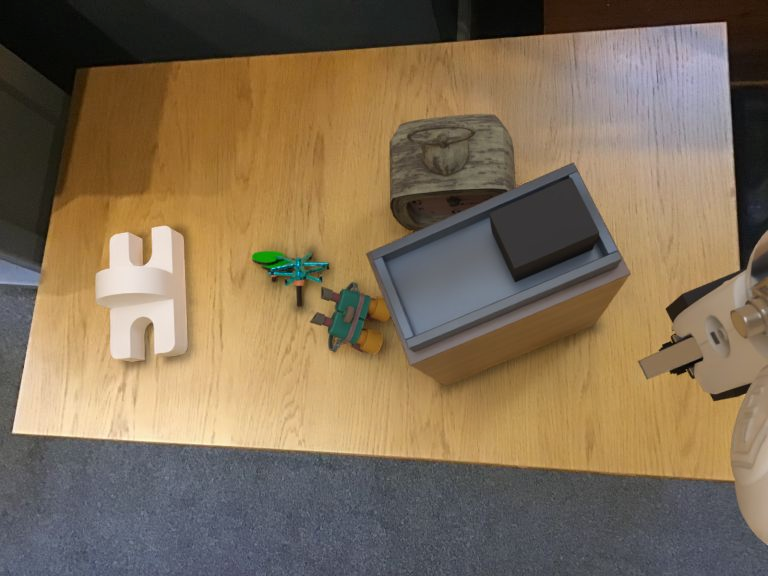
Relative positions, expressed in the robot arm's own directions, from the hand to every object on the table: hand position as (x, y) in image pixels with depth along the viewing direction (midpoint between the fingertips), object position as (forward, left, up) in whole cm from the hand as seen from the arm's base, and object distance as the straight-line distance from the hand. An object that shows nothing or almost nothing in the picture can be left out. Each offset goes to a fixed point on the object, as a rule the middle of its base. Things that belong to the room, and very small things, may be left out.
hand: (725, 340), depth 45 cm
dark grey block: (+13, +7, -7) cm, 17 cm away
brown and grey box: (+13, +12, -36) cm, 40 cm away
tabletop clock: (+29, +11, -36) cm, 48 cm away
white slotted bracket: (+35, +56, -36) cm, 75 cm away
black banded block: (0, 0, 0) cm, 0 cm away
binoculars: (+19, +29, -36) cm, 50 cm away
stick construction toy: (+29, +36, -36) cm, 59 cm away
